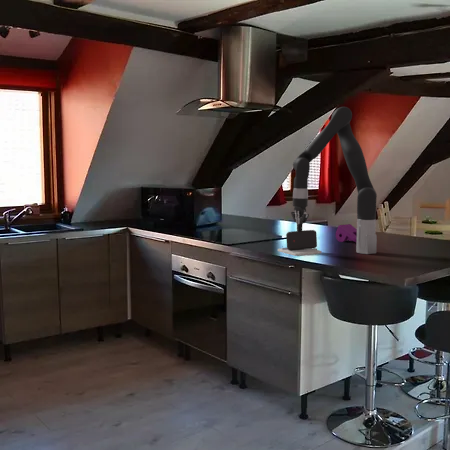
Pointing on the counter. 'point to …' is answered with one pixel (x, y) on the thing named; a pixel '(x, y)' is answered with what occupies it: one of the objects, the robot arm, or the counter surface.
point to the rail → (301, 250)
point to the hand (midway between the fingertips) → (299, 231)
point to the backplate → (299, 252)
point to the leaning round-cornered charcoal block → (301, 240)
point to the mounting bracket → (346, 233)
